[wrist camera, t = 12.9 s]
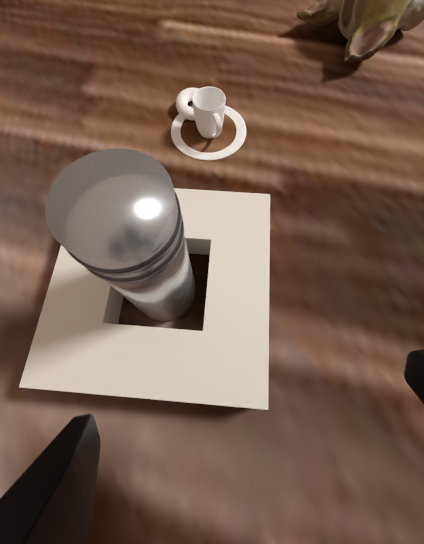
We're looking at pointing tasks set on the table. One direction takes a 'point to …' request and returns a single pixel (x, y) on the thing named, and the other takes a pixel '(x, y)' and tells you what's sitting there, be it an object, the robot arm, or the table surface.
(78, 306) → the square hole plate
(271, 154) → the table surface
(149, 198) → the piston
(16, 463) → the table surface
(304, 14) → the ceramic sculpture
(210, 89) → the teacup and saucer
